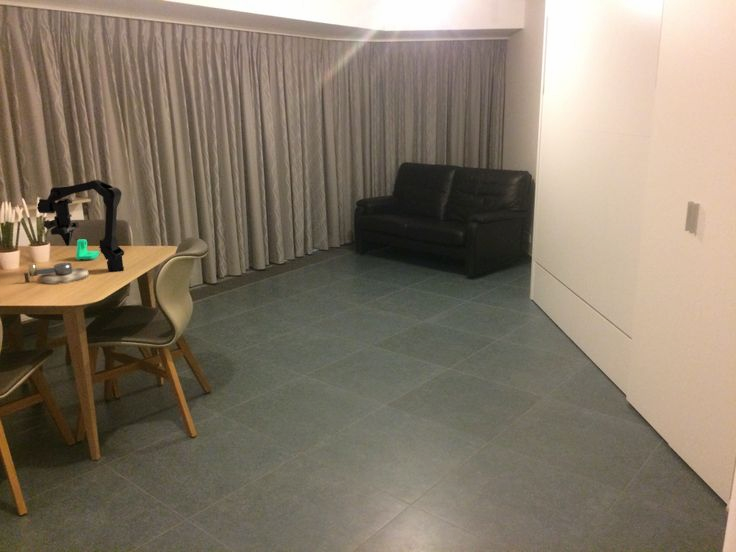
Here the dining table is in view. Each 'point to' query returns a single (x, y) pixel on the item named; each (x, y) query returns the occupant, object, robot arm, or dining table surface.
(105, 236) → the robot arm
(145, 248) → the dining table surface
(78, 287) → the dining table surface
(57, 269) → the knob
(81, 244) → the camera mount
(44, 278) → the leveling base
